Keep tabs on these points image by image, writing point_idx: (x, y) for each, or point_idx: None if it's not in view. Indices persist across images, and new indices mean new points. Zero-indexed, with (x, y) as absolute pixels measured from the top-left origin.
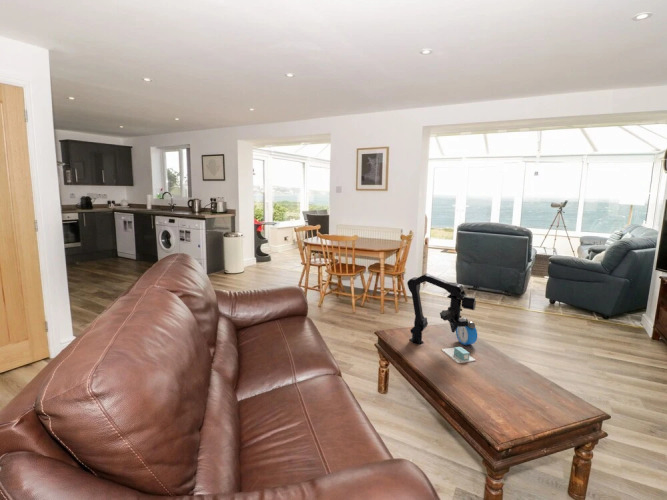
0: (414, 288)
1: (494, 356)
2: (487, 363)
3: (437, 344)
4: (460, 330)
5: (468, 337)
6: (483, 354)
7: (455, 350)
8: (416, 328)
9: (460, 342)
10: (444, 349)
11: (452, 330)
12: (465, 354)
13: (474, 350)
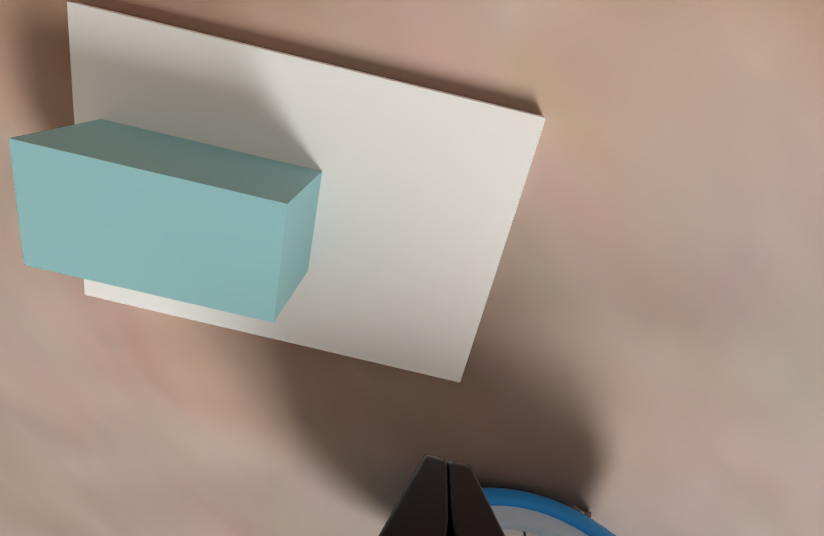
0: None
1: (146, 521)
2: (18, 355)
3: (725, 217)
4: None
5: None
6: (214, 477)
7: (265, 183)
8: None
9: (541, 498)
10: (510, 156)
11: (420, 503)
12: (29, 182)
13: (326, 476)
